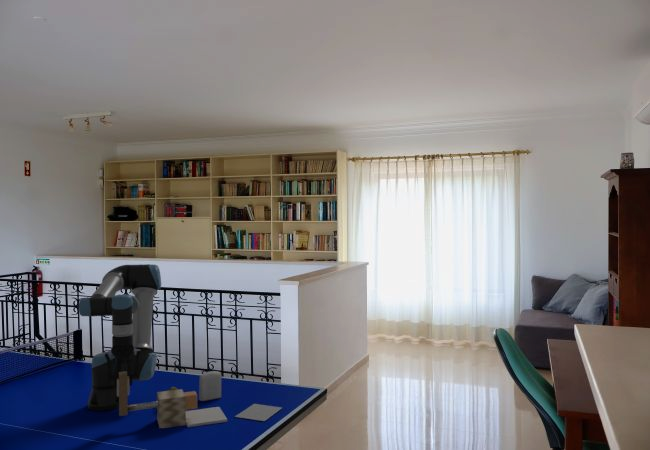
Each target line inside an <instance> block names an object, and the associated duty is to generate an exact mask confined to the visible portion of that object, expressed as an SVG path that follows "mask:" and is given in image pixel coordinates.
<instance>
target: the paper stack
mask: <svg viewBox="0 0 650 450" xmlns="http://www.w3.org/2000/svg"><path fill="white" fill-rule="evenodd" d="M281 409H283V407H282V406H281V407H280V406H273V405H265V404H259V403H253V404H251V405H250V406H248V407H247V408H246V409H244V410H243V411H241V412H240V413H237V414H236V415H235V416H234V418H240V419H248V420H253V421H262V422H265V421H267V420H268V419H270V418H271V417H272V416H274V415H275V414H276V413H277V412H279V411H280V410H281Z"/></svg>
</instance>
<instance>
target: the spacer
mask: <svg viewBox="0 0 650 450" xmlns="http://www.w3.org/2000/svg"><path fill="white" fill-rule="evenodd" d="M183 392H184V391H183ZM184 394H185V396H186V411H189V410H197V409H198V394H197V392H196V390H192V391H185V392H184Z"/></svg>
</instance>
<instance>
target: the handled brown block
mask: <svg viewBox="0 0 650 450" xmlns="http://www.w3.org/2000/svg"><path fill="white" fill-rule="evenodd" d="M158 407H159V401H157V400H156V401H149V402H140V403H133V404H128V395H127V371H125V372H119V408H118V415H119V417H122V416H123V417H124V416H128V414H129V412H133V411H141V410H149V409H150V410H151V409H155V408H156V409H157V408H158Z"/></svg>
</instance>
